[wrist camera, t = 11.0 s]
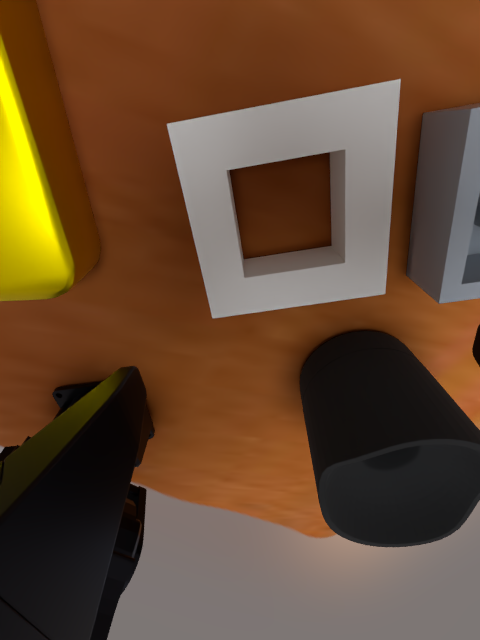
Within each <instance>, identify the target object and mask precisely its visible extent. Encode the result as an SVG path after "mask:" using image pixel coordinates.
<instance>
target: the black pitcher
mask: <svg viewBox="0 0 480 640" xmlns="http://www.w3.org/2000/svg"><path fill="white" fill-rule="evenodd" d="M300 392H301V399H302V405H303V412H304V418H305V424H306V429H307V435H308V441H309V447H310V452H311V458H312V464H313V470H314V475H315V481H316V487H317V492H318V498H319V503H320V507H321V512H322V515H323V517H324V519H325V521H326V523H327V524H328V526H329V527H330V528H331V529H332V530H333V531H334V532H335V533H337V534H338V535H340V536H341V537H343V538H346V539H348V540H350V541H353V542H356V543H360V544H365V545H370V546H377V547H406V546H414V545H421V544H426V543H431V542H434V541H437V540H440V539H443V538H444V537H447V536H449V535H451V534H452V533H454V532H455V531H456V530H458V529H459V528H460V527H461V525H463V523H464V522H465V521H466V520H467V518H468V517H469V515H470V514H471V512H472V511H473V509H474V508H475V506H476V505H477V503H478V501H479V500H480V430H479V429H478V428H477V427H476V426H475V424H474V423H473V422H472V421H471V420H470V419H469V418H468V416H467V415H466V414H465V413H464V412H463V411H462V409H461V408H460V407H459V406H458V405H457V404H456V402H455V401H454V400H453V399H452V398H451V397H450V395H449V394H448V393H447V392H446V391H445V390H444V388H443V387H442V386H441V385H440V384H439V383H438V382H437V380H436V379H435V378H434V377H433V376H432V375H431V373H430V372H429V371H428V370H427V369H426V368H425V367H424V365H423V364H422V363H421V362H420V361H419V360H418V359H417V358H416V357H415V356H414V354H413V353H412V352H411V351H410V350H409V349H408V348H407V347H406V346H405V345H404V344H403V343H402V342H400V341H399V340H398V339H396V338H394V337H392V336H390V335H387V334H384V333H380V332H374V331H359V332H352V333H347V334H344V335H340V336H338V337H335V338H333V339H331V340H329V341H328V342H326V343H324V344H323V345H322V346H320V347H319V348H318V349H317V350H316V351H315V352H313V353H312V355H311V356H310V357H309V358H308V360H307V361H306V363H305V365H304V367H303V369H302V372H301V375H300Z"/></svg>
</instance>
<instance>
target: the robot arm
mask: <svg viewBox="0 0 480 640" xmlns="http://www.w3.org/2000/svg"><path fill="white" fill-rule="evenodd" d="M472 350H473V356H474V358H475V360H476V361H477V363H478V365H479V366H480V325H479V326H478V329H477V333H476V336H475V340H474V344H473V349H472ZM52 395H53V397H54V399H55V400H56V402H57V404H58V405H59V407H60V408H61V409H60V410H59V412H58V414H57V415H56V417H55V418H54V420H53V421H52V422H51V423H49V424H48V425H47V426H46V427H44V428H43V429H42V430H41V431H39V432H38V433H37V434H35V435H34V436H33V437H32V438H31V437H29V436H28V437H27V438H26V440H25V441H24V442H23V444H22V445H21V446H18V445H17V446H11V447H5V448H4V449H3V451H2V452H1V453H0V640H107V637H108V633H109V630H110V626H111V623H112V619H113V616H114V613H115V610H116V607H117V603H118V600H119V598H120V595H121V594H122V592H123V591H124V590H125V588H126V587H127V585H128V583H129V582H130V580H131V578H132V576H133V574H134V571H135V569H136V566H137V564H138V561H139V558H140V554H141V550H142V545H143V537H144V536H143V535H144V519H145V504H146V489H145V488H143V487H140V486H139V487H137V486H135V485H132V484H130V482H131V478H132V474H133V471H134V467H138V466H139V465H140V464H141V462H142V458H143V455H144V452H145V448H146V445H147V441H148V439H151V438H153V436H154V433H155V431H154V428H153V426H152V424H153V422H152V420H151V417H150V415H149V413H148V410H147V408H146V406H145V404H146V396H147V394H146V388H145V385H144V383H143V380H142V377H141V375H140V372H139V370H138V368H137V367H135V366H129V367H122V368H120V369H118V370H117V371H116V372H114V373H113V374H112V375H111V376H109V377H108V378H107V379H105V380H104V381H103V382H96V383H88V384H80V385H73V386H65V387H58V388H56V389H55V390H54V392H53V394H52Z"/></svg>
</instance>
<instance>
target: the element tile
mask: <svg viewBox="0 0 480 640" xmlns="http://www.w3.org/2000/svg"><path fill="white" fill-rule="evenodd" d="M100 251H101V247H100V239H99V235H98V231H97V227H96V224H95V220H94V216H93V212H92V209H91V205H90V201H89V197H88V194H87V190H86V186H85V183H84V179H83V175H82V171H81V168H80V164H79V160H78V156H77V153H76V149H75V145H74V141H73V138H72V134H71V130H70V126H69V123H68V119H67V115H66V111H65V108H64V104H63V100H62V97H61V93H60V89H59V85H58V82H57V78H56V74H55V70H54V67H53V63H52V59H51V55H50V52H49V48H48V44H47V40H46V37H45V33H44V29H43V26H42V22H41V18H40V14H39V11H38V7H37V3H36V0H0V301H16V300H39V299H50V298H55V297H58V296H60V295H62V294H64V293H66V292H68V291H70V290H71V289H72V288H73V287H74V286H75V285H76V284H77V283H78V282H79V281H80V280H81V279H82V278H83V277H84V276H85V275H86V274H87V273H88V272H89V271H90V270H91V269H93V268H94V266H95V265H96V263H97V262H98V261H99V257H100Z"/></svg>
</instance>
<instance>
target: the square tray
mask: <svg viewBox="0 0 480 640" xmlns="http://www.w3.org/2000/svg"><path fill="white" fill-rule="evenodd" d="M479 193H480V103H475V104H470V105H464V106H459V107H454V108H448V109H443V110H437V111H432V112H426V113H423V119H422V129H421V138H420V148H419V157H418V167H417V177H416V186H415V196H414V205H413V215H412V224H411V234H410V244H409V253H408V263H407V272H406V275H407V276H408V277H409V278H410V279H411V280H412V281H413V282H415V283H416V284H417V285H418V286H419V287H420V288H421V289H423V290H424V291H425V292H426V293H427V294H428V295H430V296H431V297H432V298H433V299H434V300H435V301H436V302H438V303H439V304H440V303H447V302H455V301H462V300H469V299H476V298H480V227H479V226H476V225H474V224H473V223H474V218H475V213H476V208H477V203H478V198H479Z"/></svg>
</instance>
